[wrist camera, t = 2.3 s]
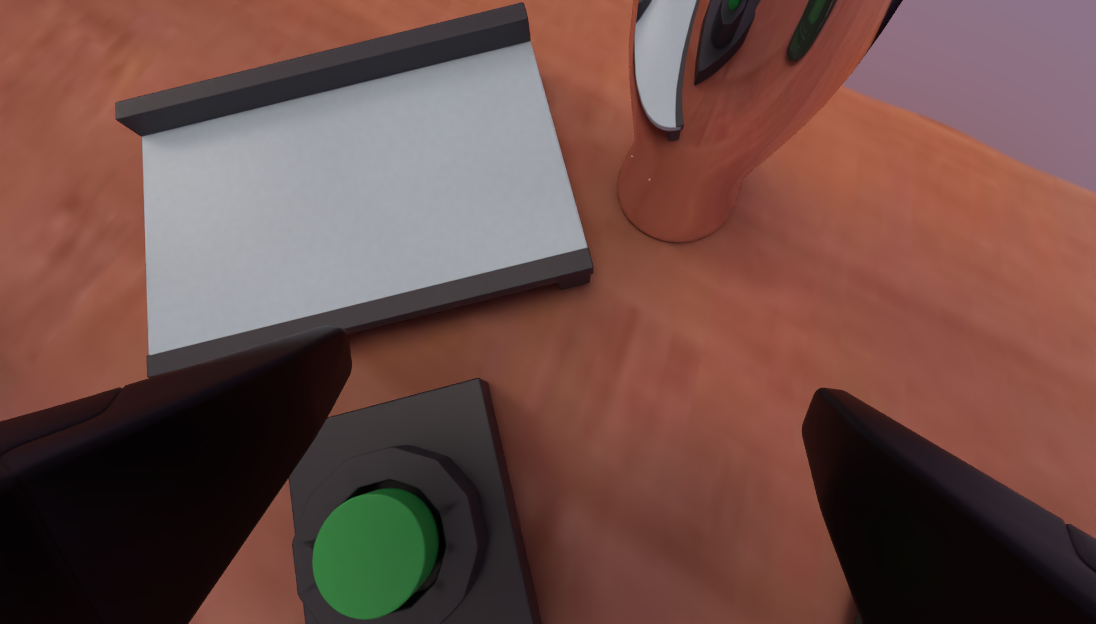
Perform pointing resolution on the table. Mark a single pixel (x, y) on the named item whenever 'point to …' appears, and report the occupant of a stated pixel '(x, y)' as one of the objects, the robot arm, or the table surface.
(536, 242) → the shelf
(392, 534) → the button
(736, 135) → the beer glass
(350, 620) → the control box
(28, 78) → the table surface
